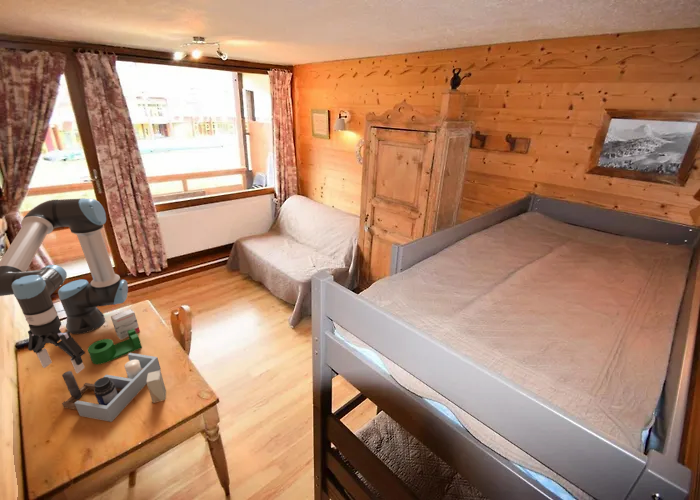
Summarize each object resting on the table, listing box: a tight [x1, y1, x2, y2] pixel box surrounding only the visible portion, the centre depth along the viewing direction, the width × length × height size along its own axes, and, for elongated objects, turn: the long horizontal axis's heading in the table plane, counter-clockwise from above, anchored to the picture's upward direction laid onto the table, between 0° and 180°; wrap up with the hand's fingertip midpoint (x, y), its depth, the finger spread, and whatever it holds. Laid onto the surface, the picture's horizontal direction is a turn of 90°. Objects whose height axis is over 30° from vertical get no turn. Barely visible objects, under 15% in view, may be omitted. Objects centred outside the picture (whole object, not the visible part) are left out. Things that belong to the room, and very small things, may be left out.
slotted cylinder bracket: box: [87, 329, 143, 365], centre depth 145 cm, size 18×9×6 cm, turn 135°
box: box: [146, 369, 167, 404], centre depth 123 cm, size 5×4×11 cm
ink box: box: [110, 308, 141, 341], centre depth 155 cm, size 9×5×12 cm, turn 141°
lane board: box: [73, 352, 161, 423], centre depth 126 cm, size 26×13×6 cm, turn 171°
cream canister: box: [124, 360, 143, 379], centre depth 131 cm, size 5×5×8 cm
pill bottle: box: [93, 376, 118, 406], centre depth 120 cm, size 6×6×11 cm
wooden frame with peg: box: [61, 370, 122, 411], centre depth 120 cm, size 10×20×12 cm, turn 81°
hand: (63, 367), depth 117 cm, fingers open, 13 cm apart
